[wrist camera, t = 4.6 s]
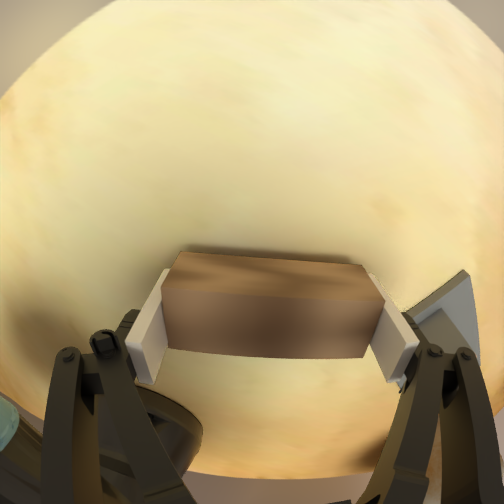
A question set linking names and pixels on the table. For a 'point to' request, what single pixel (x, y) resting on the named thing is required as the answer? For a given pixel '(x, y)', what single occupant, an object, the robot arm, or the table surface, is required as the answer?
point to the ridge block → (449, 317)
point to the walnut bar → (269, 307)
